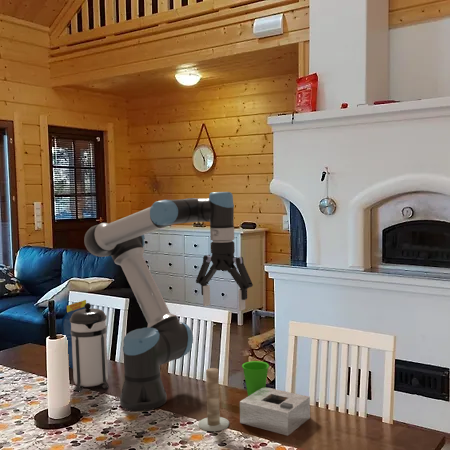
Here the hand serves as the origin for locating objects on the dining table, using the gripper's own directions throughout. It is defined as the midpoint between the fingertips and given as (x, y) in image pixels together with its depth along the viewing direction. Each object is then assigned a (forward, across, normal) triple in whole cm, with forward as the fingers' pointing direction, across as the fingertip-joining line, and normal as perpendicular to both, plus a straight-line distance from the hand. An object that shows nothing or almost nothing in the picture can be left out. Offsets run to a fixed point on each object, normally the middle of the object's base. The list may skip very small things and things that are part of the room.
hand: (224, 307), depth 175 cm
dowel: (+31, +5, -14) cm, 35 cm away
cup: (+32, +5, +10) cm, 34 cm away
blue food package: (+32, -75, +4) cm, 82 cm away
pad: (+32, +5, -14) cm, 35 cm away
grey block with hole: (+32, +19, -2) cm, 37 cm away
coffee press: (+32, -53, -10) cm, 63 cm away
